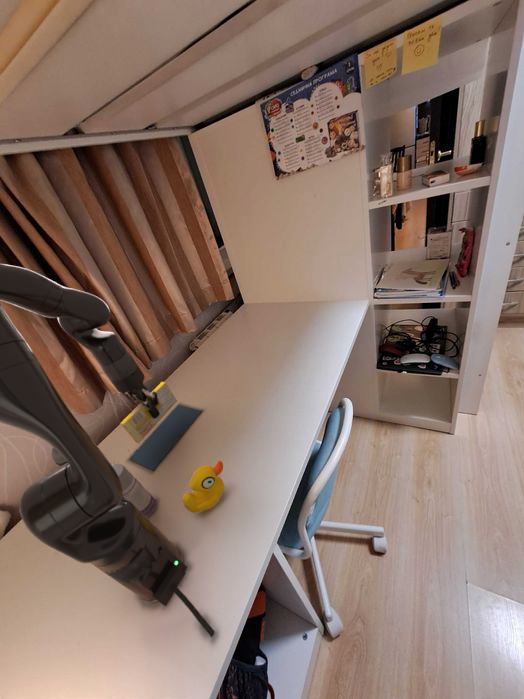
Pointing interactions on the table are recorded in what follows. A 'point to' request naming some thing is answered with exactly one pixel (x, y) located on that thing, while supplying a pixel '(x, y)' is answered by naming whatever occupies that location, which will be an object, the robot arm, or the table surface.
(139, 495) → the container
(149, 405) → the robot arm
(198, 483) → the duckling
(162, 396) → the candy box
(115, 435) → the table surface
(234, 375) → the table surface
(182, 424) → the mat
